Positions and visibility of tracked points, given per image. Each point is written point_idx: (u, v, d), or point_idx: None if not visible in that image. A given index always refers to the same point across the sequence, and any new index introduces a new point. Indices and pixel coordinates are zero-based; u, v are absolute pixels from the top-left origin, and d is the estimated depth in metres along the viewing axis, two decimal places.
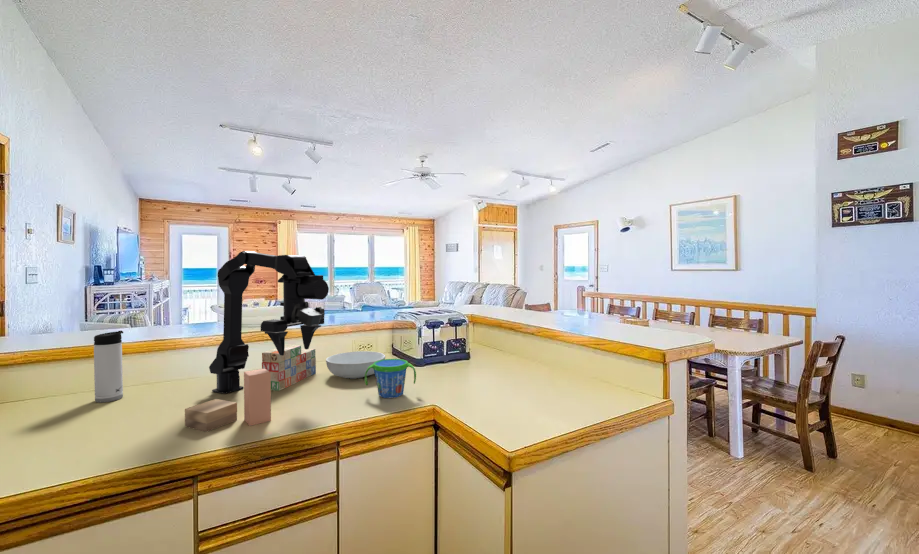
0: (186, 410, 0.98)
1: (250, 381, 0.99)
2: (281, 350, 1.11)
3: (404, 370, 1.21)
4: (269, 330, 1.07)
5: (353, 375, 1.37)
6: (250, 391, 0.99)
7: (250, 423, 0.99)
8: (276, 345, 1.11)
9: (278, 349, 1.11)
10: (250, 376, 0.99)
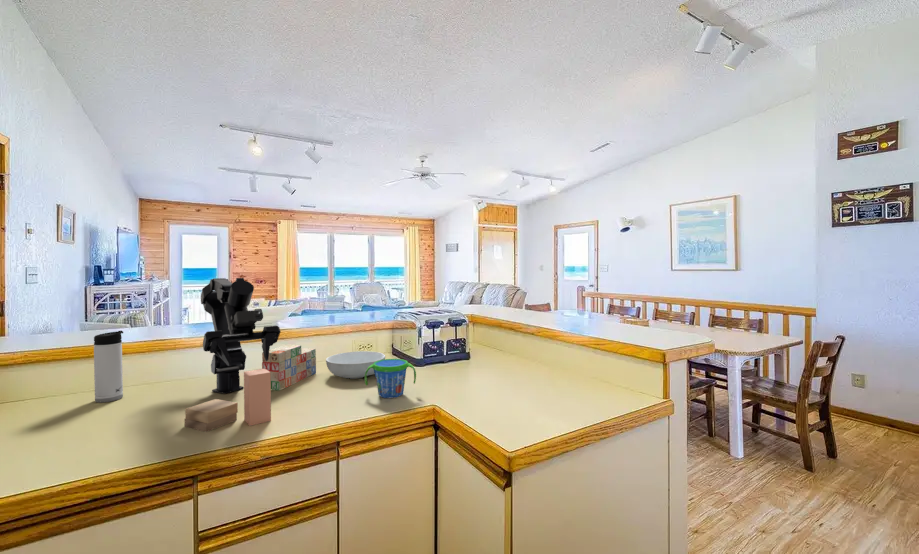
0: (187, 410, 0.98)
1: (250, 381, 0.99)
2: (226, 359, 1.05)
3: (404, 370, 1.21)
4: (205, 342, 1.06)
5: (353, 375, 1.37)
6: (250, 391, 0.99)
7: (250, 423, 0.99)
8: (223, 358, 1.06)
9: (225, 361, 1.06)
10: (250, 376, 0.99)
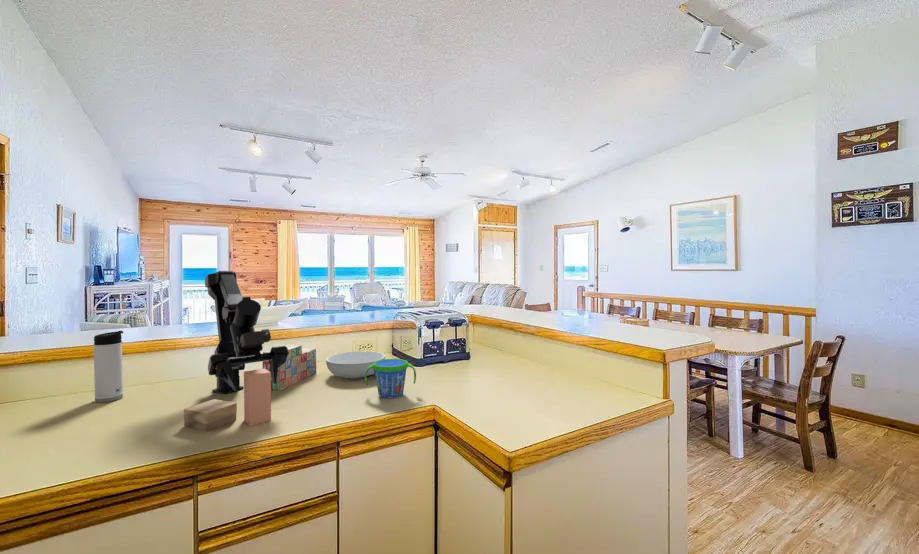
0: (185, 410, 0.98)
1: (250, 381, 0.99)
2: (232, 384, 1.00)
3: (404, 370, 1.21)
4: (210, 365, 1.00)
5: (353, 375, 1.37)
6: (250, 391, 0.99)
7: (250, 423, 0.99)
8: (229, 383, 1.01)
9: (231, 385, 1.01)
10: (250, 376, 0.99)
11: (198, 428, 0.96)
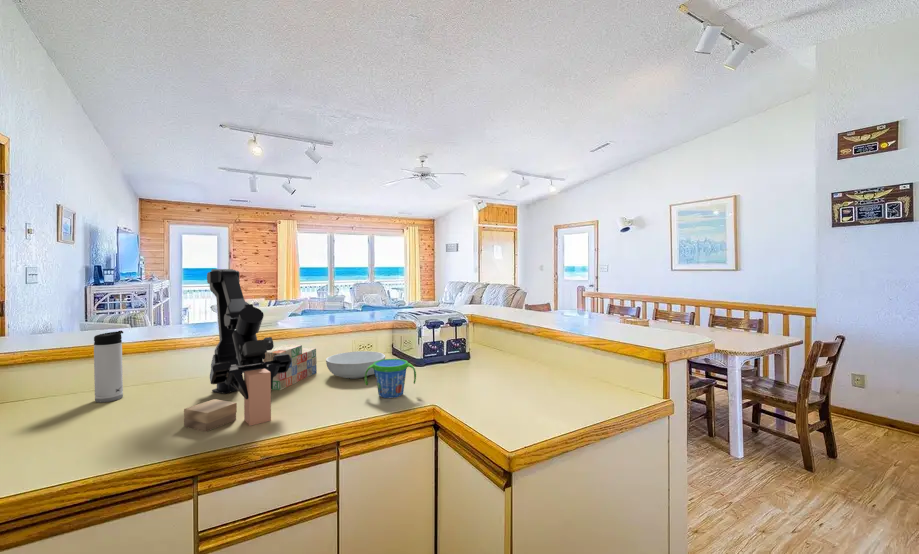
0: (185, 410, 0.98)
1: (250, 381, 0.99)
2: (243, 392, 1.00)
3: (404, 370, 1.21)
4: (212, 375, 0.99)
5: (353, 375, 1.37)
6: (250, 391, 0.99)
7: (250, 423, 0.99)
8: (239, 390, 1.01)
9: (242, 393, 1.00)
10: (250, 376, 0.99)
11: (198, 428, 0.96)
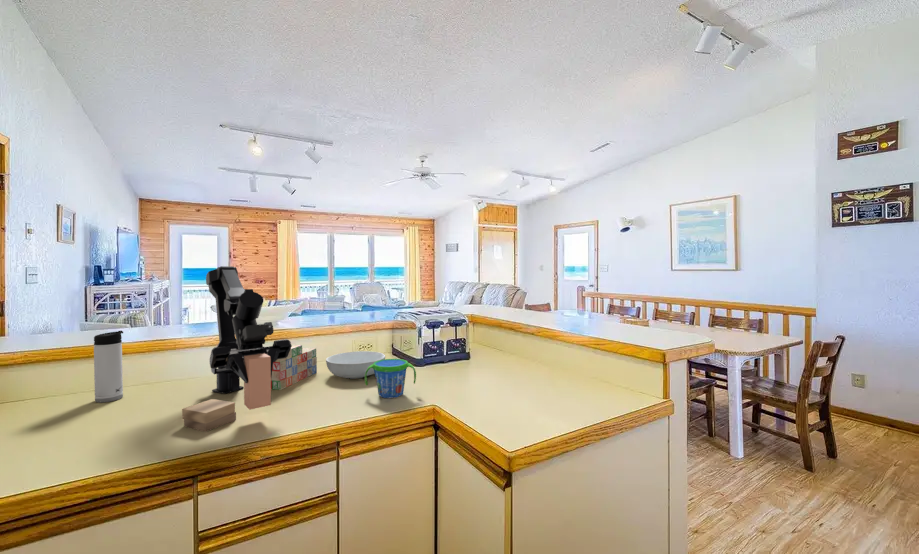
0: (183, 410, 0.98)
1: (250, 365, 0.99)
2: (243, 376, 1.00)
3: (404, 370, 1.21)
4: (212, 358, 0.99)
5: (353, 375, 1.37)
6: (250, 375, 0.99)
7: (250, 407, 0.99)
8: (239, 375, 1.01)
9: (242, 377, 1.00)
10: (250, 360, 0.99)
11: (198, 428, 0.97)
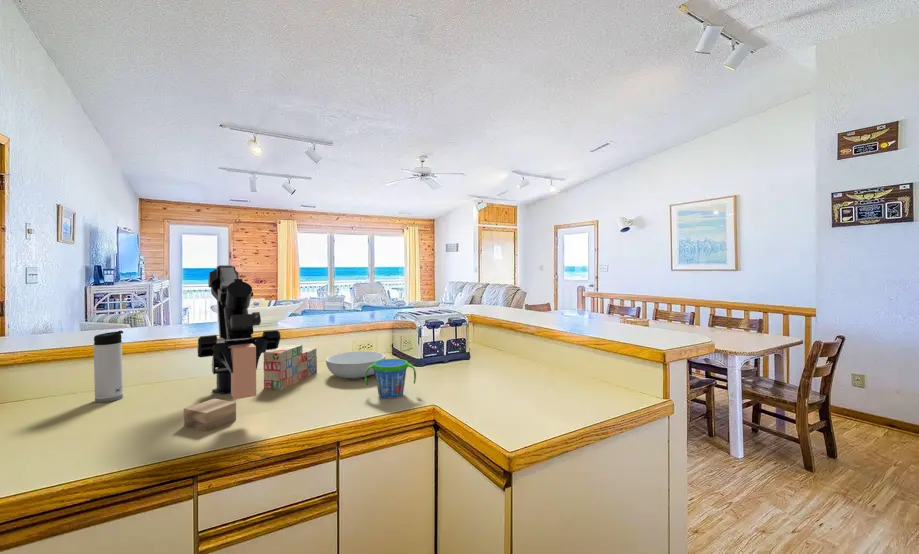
0: (185, 410, 0.98)
1: (234, 354, 0.98)
2: (228, 365, 0.99)
3: (404, 370, 1.21)
4: (198, 347, 0.99)
5: (353, 375, 1.37)
6: (234, 365, 0.98)
7: (234, 397, 0.98)
8: (225, 364, 1.00)
9: (227, 367, 1.00)
10: (234, 349, 0.98)
11: (198, 428, 0.97)
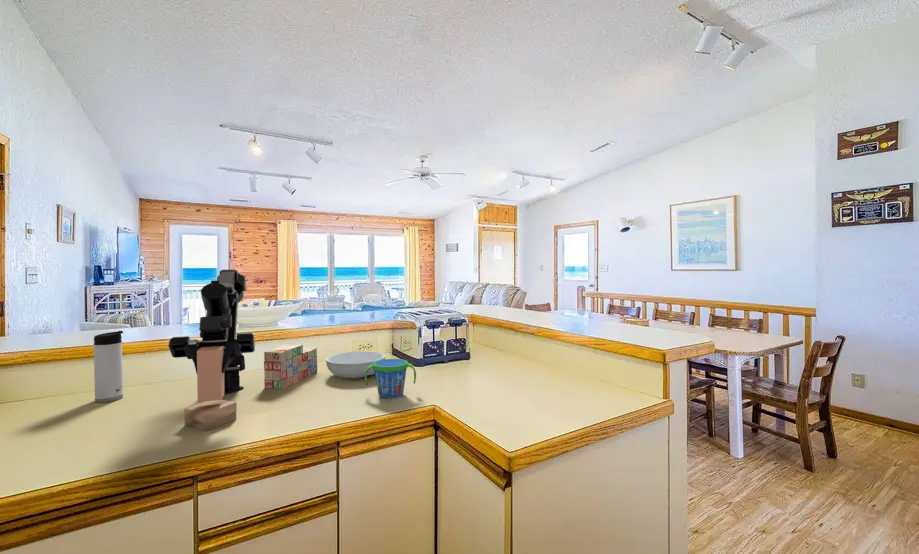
0: (185, 410, 0.98)
1: (198, 357, 0.97)
2: (195, 367, 0.98)
3: (404, 370, 1.21)
4: None
5: (353, 375, 1.37)
6: (198, 367, 0.97)
7: (198, 400, 0.97)
8: None
9: None
10: (198, 352, 0.97)
11: (198, 428, 0.97)
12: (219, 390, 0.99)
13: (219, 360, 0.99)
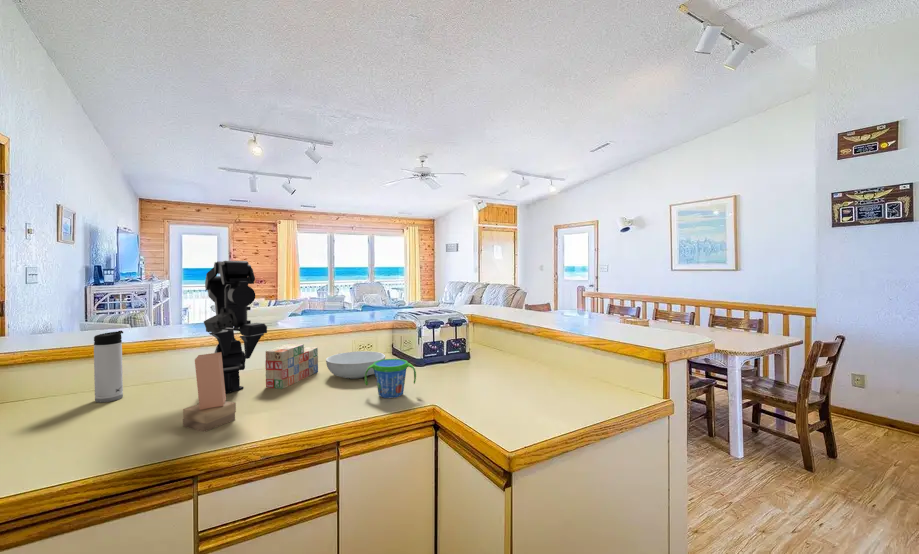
0: (184, 410, 0.98)
1: (196, 365, 0.97)
2: None
3: (404, 370, 1.21)
4: None
5: (353, 375, 1.37)
6: (197, 375, 0.97)
7: (200, 407, 0.98)
8: None
9: None
10: (196, 360, 0.97)
11: (197, 428, 0.97)
12: (220, 396, 0.99)
13: (218, 367, 0.99)
